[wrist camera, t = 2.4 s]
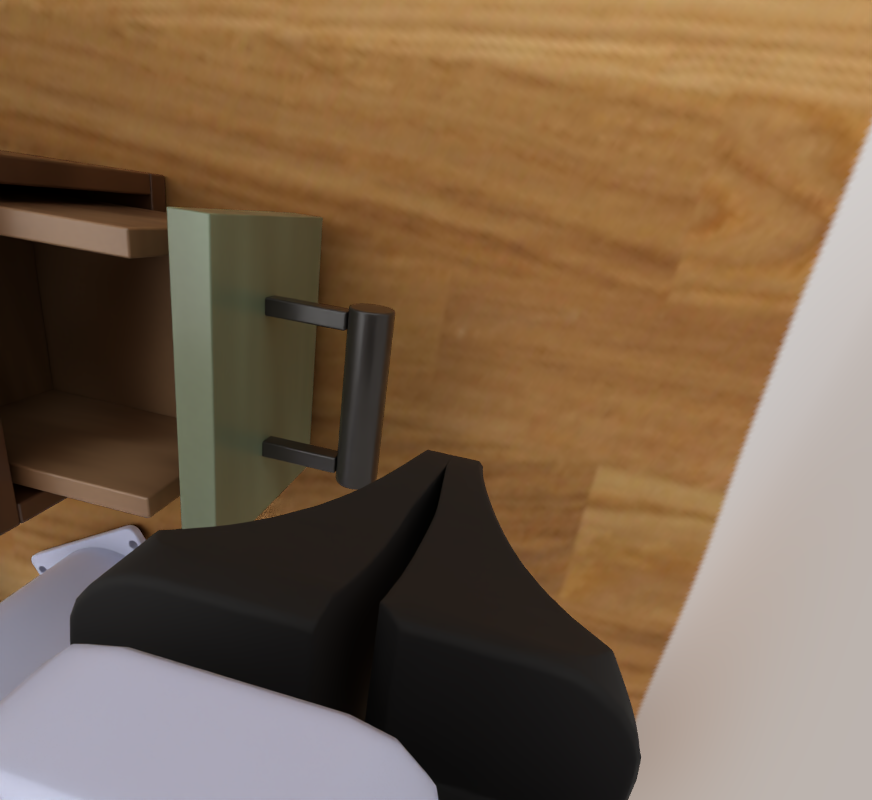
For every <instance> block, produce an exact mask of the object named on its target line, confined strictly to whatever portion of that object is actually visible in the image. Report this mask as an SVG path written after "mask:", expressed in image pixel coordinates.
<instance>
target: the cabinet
mask: <svg viewBox="0 0 872 800" xmlns="http://www.w3.org/2000/svg"><path fill="white" fill-rule="evenodd" d="M0 188H9V189H23V190H32V191H38V192H44V193H50V194H57V195H63V196H69V197H75V198H81V199H87V200H93V201H99V202H105V203H111V204H118V205H124V206H130V207H136V208H142V209H148V210H154V211H160V212H166V201H165V180H164V176H163V175H159V174H152V173H146V172H139V171H132V170H126V169H119V168H113V167H106V166H100V165H93V164H87V163H80V162H73V161H67V160H60V159H54V158H47V157H41V156H34V155H28V154H21V153H14V152H8V151H1V150H0ZM66 498H67V497H65V496H61V495H57V494H53V493H49V492H45V491H42V490H38V489H34V488H30V487H26V486H22V485H19V484H15V483H13V482H12V476H11V471H10V465H9V460H8V454H7V449H6V443H5V438H4V433H3V427H2V422H1V416H0V535H2V534H4V533H6V532H7V531H9V530H11V529H13V528H14V527H16V526H18V525H19V524H20V523H24V522H25V521H27V520H29V519H31V518H32V517H34V516H36V515H38V514H39V513H41V512H43V511H45V510H46V509H48V508H50V507H52V506H53V505H55V504H57V503H59V502H60V501H62V500H64V499H66Z"/></svg>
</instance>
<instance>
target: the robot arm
mask: <svg viewBox="0 0 872 800" xmlns="http://www.w3.org/2000/svg"><path fill="white" fill-rule="evenodd" d="M32 563H33V565H34V566H35V568H36V569H37V571H38V572H39V574H40V575H39V576H38V577H36V578H35V579H33V580H32V581H30V582H29V583H28V584H26V585H25V586H23V587H22V588H20V589H19V590H17V591H16V592H15V593H13V594H12V595H10V596H9V597H7V598H6V599H4V600H3V601H2V602H0V800H628V798H629V796H630V794H631V791H632V789H633V787H634V784H635V782H636V779H637V775H638V770H639V765H640V760H641V754H640V749H639V739H638V733H637V727H636V722H635V718H634V714H633V710H632V706H631V703H630V700H629V696H628V693H627V690H626V687H625V684H624V681H623V678H622V675H621V672H620V670H619V667H618V664H617V661H616V658H615V656H614V653H613V651H612V649H610V648H609V647H608V646H607V645H605V644H604V643H603V642H602V641H600V640H599V639H598V638H597V637H595V636H594V635H593V634H592V633H591V632H589V631H588V630H587V629H586V628H584V627H583V626H582V625H581V624H579V623H578V622H577V621H576V620H574V619H573V618H572V617H571V616H570V615H569V614H568V613H567V612H566V611H565V610H564V609H563V608H562V607H560V606H559V605H558V604H557V603H556V602H555V601H554V600H553V599H552V598H551V597H550V596H549V595H548V594H547V593H546V591H545V590H544V589H543V588H542V587H541V586H540V585H539V584H538V583H537V581H536V580H535V579H534V578H533V576H532V575H531V574H530V573H529V572H528V570H527V569H526V568H525V567H524V565H523V564H522V563H521V561H520V560H519V558H518V557H517V555H516V554H515V552H514V550H513V549H512V547H511V546H510V544H509V542H508V540H507V538H506V537H505V535H504V533H503V531H502V529H501V527H500V525H499V522H498V520H497V518H496V516H495V513H494V511H493V508H492V506H491V503H490V500H489V497H488V494H487V491H486V487H485V483H484V479H483V466H482V465H481V463H480V462H479V461H476V460H471V459H467V458H462V457H457V456H453V455H448V454H444V453H439V452H435V451H430V450H427V451H425V452H423V453H422V454H420V455H418V456H417V457H415V458H414V459H412V460H410V461H409V462H407V463H406V464H404V465H402V466H401V467H399V468H398V469H396V470H394V471H393V472H391V473H389V474H387V475H386V476H384V477H382V478H380V479H378V480H376V481H374V482H372V483H370V484H368V485H366V486H364V487H362V488H360V489H358V490H357V491H354V492H352V493H350V494H347V495H345V496H342V497H340V498H337V499H335V500H332V501H329V502H326V503H323V504H321V505H318V506H314V507H311V508H307V509H303V510H300V511H296V512H292V513H288V514H284V515H281V516H277V517H272V518H267V519H262V520H256V521H251V522H244V523H238V524H231V525H223V526H214V527H201V528H188V529H176V530H159V531H157V532H156V533H155V534H153V535H152V536H151V537H149V538H148V539H147V540H146V539H145V538H144V536H143V534H142V533H141V531H140V530H139V528H137V527H136V526H133V525H127V526H124V527H121V528H117V529H114V530H111V531H107V532H104V533H100V534H97V535H94V536H90V537H87V538H84V539H80V540H77V541H74V542H70V543H67V544H63V545H60V546H57V547H53V548H50V549H47V550H43V551H40V552H38V553H36V554H35V555H33V556H32Z"/></svg>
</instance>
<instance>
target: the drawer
mask: <svg viewBox="0 0 872 800" xmlns="http://www.w3.org/2000/svg"><path fill="white" fill-rule="evenodd" d="M322 221H323V218H322V217H317V216H311V215H305V214H298V213H288V212H268V211H248V210H229V209H209V208H189V207H167V213H166V212H160V211H154V210H148V209H142V208H136V207H130V206H124V205H118V204H111V203H105V202H99V201H93V200H87V199H81V198H75V197H69V196H63V195H57V194H50V193H44V192H38V191H32V190H23V189H9V188H0V416H1V422H2V427H3V433H4V438H5V443H6V449H7V454H8V460H9V465H10V471H11V476H12V482H13V483H15V484H19V485H22V486H26V487H30V488H34V489H38V490H42V491H45V492H49V493H53V494H57V495H61V496H65V497H69V498H72V499H76V500H80V501H84V502H88V503H92V504H95V505H99V506H103V507H107V508H111V509H115V510H118V511H122V512H126V513H130V514H134V515H138V516H141V517H145V518H150V517H152V516H153V515H154V514H156V513H157V512H158V511H160V510H161V509H163V508H164V507H165V506H167V505H168V504H169V503H171V502H172V501H173V500H175V499H176V498H177V497H179V496H180V501H181V521H182V529H188V528H201V527H214V526H223V525H231V524H238V523H244V522H251V521H254V520H255V519H256V518H257V517H258V516H259V515H260V514H261V513H262V512H263V511H264V510H265V509H266V508H267V507H268V506H269V505H270V504H271V503H272V502H273V501H274V500H275V499H276V498H277V497H278V496H279V495H280V494H281V493H282V492H283V491H284V490H285V489H286V488H287V487H288V485H289V484H290V483H291V482H292V481H293V480H294V479H295V478H296V477H297V476H298V475H299V474H300V473H301V472H302V471H303V470H304V469H305V468H306V467H310V468H314V469H319V470H323V471H327V472H332V473H334V472H335V471H336V480H337V482H338V483H339V484H340V485H341V486H343V487H346V488H349V489H360V488H362V487H364V486H366V485H368V484H370V483H372V482H374V481H376V480H377V471H378V462H379V453H380V444H381V435H382V426H383V417H384V408H385V399H386V390H387V381H388V373H389V364H390V355H391V346H392V337H393V328H394V319H395V311H394V310H393V309H391V308H388V307H385V306H381V305H375V304H364V303H360V304H352V305H350V307H349V309H347V308H342V307H336V306H331V305H325V304H320V303H318V292H319V274H320V257H321V239H322ZM317 326H322V327H327V328H333V329H338V330H343V331H344V330H347V340H346V353H345V366H344V378H343V391H342V404H341V417H340V429H339V442H338V451H336V450H332V449H327V448H323V447H319V446H314V445H310V434H311V416H312V399H313V381H314V363H315V345H316V328H317Z"/></svg>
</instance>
